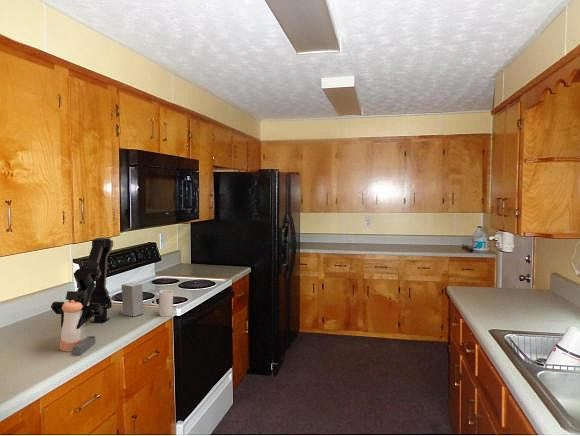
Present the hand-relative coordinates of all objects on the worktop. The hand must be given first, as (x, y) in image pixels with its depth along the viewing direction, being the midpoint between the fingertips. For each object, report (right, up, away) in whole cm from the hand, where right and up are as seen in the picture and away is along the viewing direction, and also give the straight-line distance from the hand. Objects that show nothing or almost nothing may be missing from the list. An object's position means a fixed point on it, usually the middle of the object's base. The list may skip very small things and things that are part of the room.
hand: (69, 328), depth 156 cm
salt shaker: (-1, -8, +3) cm, 9 cm away
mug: (+20, -7, +49) cm, 54 cm away
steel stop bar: (+5, -9, +2) cm, 10 cm away
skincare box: (+5, -6, +48) cm, 49 cm away
